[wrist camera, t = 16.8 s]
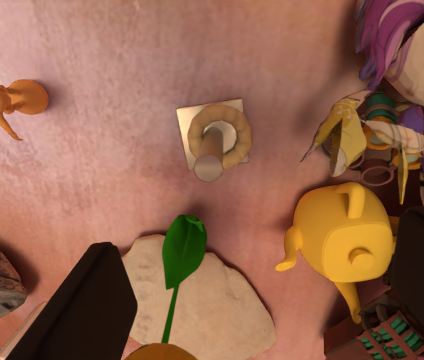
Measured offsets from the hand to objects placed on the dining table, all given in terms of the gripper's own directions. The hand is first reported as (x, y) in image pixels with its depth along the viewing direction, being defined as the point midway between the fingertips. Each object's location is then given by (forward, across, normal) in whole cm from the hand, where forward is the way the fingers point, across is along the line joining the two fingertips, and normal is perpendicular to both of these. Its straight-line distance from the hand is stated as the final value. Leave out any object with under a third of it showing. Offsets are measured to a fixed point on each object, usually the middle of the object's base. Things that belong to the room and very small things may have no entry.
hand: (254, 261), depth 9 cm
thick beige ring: (+24, +2, +1) cm, 24 cm away
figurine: (+26, +22, -7) cm, 35 cm away
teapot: (+26, -12, +16) cm, 32 cm away
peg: (+26, +2, +1) cm, 26 cm away
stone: (+21, +23, +20) cm, 37 cm away
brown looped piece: (+26, -13, +7) cm, 30 cm away
